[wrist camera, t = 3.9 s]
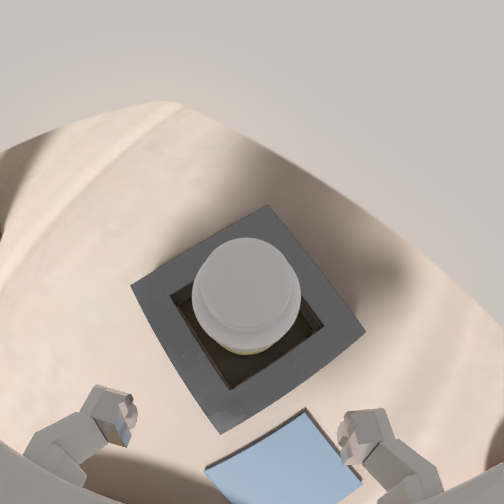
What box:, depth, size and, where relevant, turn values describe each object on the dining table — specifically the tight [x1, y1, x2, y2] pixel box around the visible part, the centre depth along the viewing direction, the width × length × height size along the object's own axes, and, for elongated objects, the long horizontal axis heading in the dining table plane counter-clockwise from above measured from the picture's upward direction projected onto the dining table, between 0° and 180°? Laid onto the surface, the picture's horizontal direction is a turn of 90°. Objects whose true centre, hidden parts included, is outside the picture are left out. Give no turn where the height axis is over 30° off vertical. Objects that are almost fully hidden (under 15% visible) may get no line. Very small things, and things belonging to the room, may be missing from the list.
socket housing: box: [130, 205, 366, 435], centre depth 20 cm, size 12×12×3 cm
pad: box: [204, 412, 363, 504], centre depth 16 cm, size 9×9×1 cm
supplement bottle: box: [192, 238, 301, 355], centre depth 16 cm, size 6×6×10 cm
